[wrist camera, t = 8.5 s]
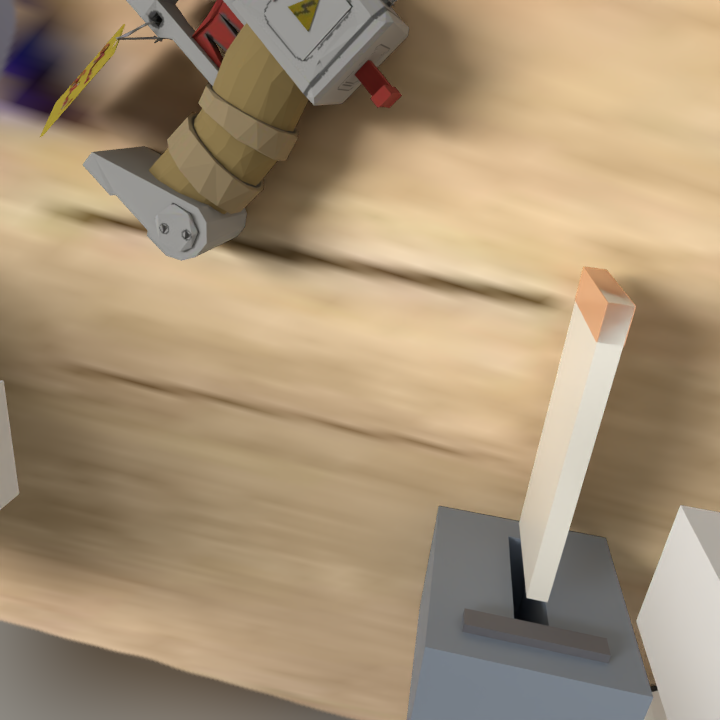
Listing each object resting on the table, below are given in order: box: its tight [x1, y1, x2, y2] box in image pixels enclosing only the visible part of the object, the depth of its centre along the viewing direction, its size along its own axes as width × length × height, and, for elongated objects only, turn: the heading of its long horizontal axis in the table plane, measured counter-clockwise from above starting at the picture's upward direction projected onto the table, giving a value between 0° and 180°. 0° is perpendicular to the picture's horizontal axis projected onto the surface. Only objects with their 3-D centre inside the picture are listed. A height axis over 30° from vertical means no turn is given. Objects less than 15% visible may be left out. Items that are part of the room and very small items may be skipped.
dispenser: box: [407, 506, 653, 720], centre depth 40 cm, size 12×11×13 cm
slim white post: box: [519, 266, 636, 602], centre depth 35 cm, size 1×18×7 cm, turn 174°
